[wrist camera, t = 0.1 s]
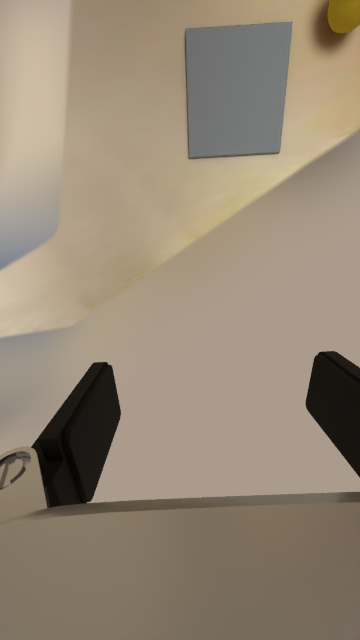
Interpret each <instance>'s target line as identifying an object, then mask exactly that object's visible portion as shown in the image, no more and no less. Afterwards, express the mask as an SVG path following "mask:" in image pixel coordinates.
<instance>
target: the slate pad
mask: <svg viewBox="0 0 360 640" xmlns="http://www.w3.org/2000/svg"><path fill="white" fill-rule="evenodd" d="M291 32H292V22H280V23H265V24H250V25H236V26H221V27H207V28H192V29H186V67H187V102H188V137H189V159H194V158H211V157H228V156H245V155H262V154H278V153H279V152H280V147H281V136H282V126H283V115H284V105H285V94H286V84H287V74H288V63H289V53H290V42H291Z"/></svg>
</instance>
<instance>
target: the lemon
mask: <svg viewBox="0 0 360 640" xmlns="http://www.w3.org/2000/svg"><path fill="white" fill-rule="evenodd" d="M328 22H329V26H330V28H331V29H332V30H333V31H334V32H336V33H346V32H349V31H351V30H353V29H354V28H356V27H357V26H359V25H360V0H329V6H328Z"/></svg>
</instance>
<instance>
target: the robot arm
mask: <svg viewBox="0 0 360 640" xmlns="http://www.w3.org/2000/svg"><path fill="white" fill-rule="evenodd" d="M306 408H307V410H308V411H309V413H310V414H311V415H312V416H313V418H314V419H315V420H316V422H317V423H318V424H319V426H320V427H321V428H322V429H323V431H324V432H325V433H326V435H327V436H328V437H329V438H330V440H331V441H332V442H333V444H334V445H335V446H336V447H337V449H338V450H339V451H340V452H341V454H342V455H343V456H344V458H345V459H346V460H347V462H348V463H349V464H350V465H351V467H352V468H353V469H354V471H355V472H356V473H357V474H358V476H359V477H360V368H359V367H358V366H356V365H355V364H353V363H352V362H350V361H349V360H347V359H346V358H344V357H343V356H342V355H340V354H339V353H337V352H335V351H328V352H319V353H318V355H316V356H315V358H314V363H313V367H312V373H311V378H310V383H309V388H308V393H307V398H306ZM120 415H121V410H120V405H119V400H118V395H117V389H116V384H115V379H114V375H113V369H112V366H111V365H108V363H107V362H97V363H93V364H92V365H91V367H90V368H89V369H88V371H87V372H86V374H85V375H84V376H83V378H82V379H81V380H80V382H79V383H78V384H77V386H76V387H75V388H74V390H73V391H72V393H71V394H70V395H69V396H68V398H67V399H66V401H65V402H64V403H63V405H62V406H61V408H60V409H59V410H58V411H57V413H56V414H55V416H54V417H53V418H52V420H51V421H50V422H49V424H48V425H47V426H46V428H45V429H44V430H43V432H42V433H41V435H40V436H39V437H38V439H37V440H36V441H35V443H34V444H33V446H32V447H20V448H16V449H13V450H11V451H8V452H6V453H4V454H3V455H1V456H0V640H360V492H339V493H308V494H280V495H253V496H227V497H202V498H178V499H156V500H132V501H117V502H101V503H87V502H90V501H91V500H92V498H93V496H94V493H95V490H96V487H97V484H98V481H99V478H100V475H101V473H102V470H103V467H104V464H105V461H106V458H107V455H108V452H109V449H110V446H111V443H112V440H113V437H114V434H115V432H116V429H117V426H118V423H119V420H120Z"/></svg>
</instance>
